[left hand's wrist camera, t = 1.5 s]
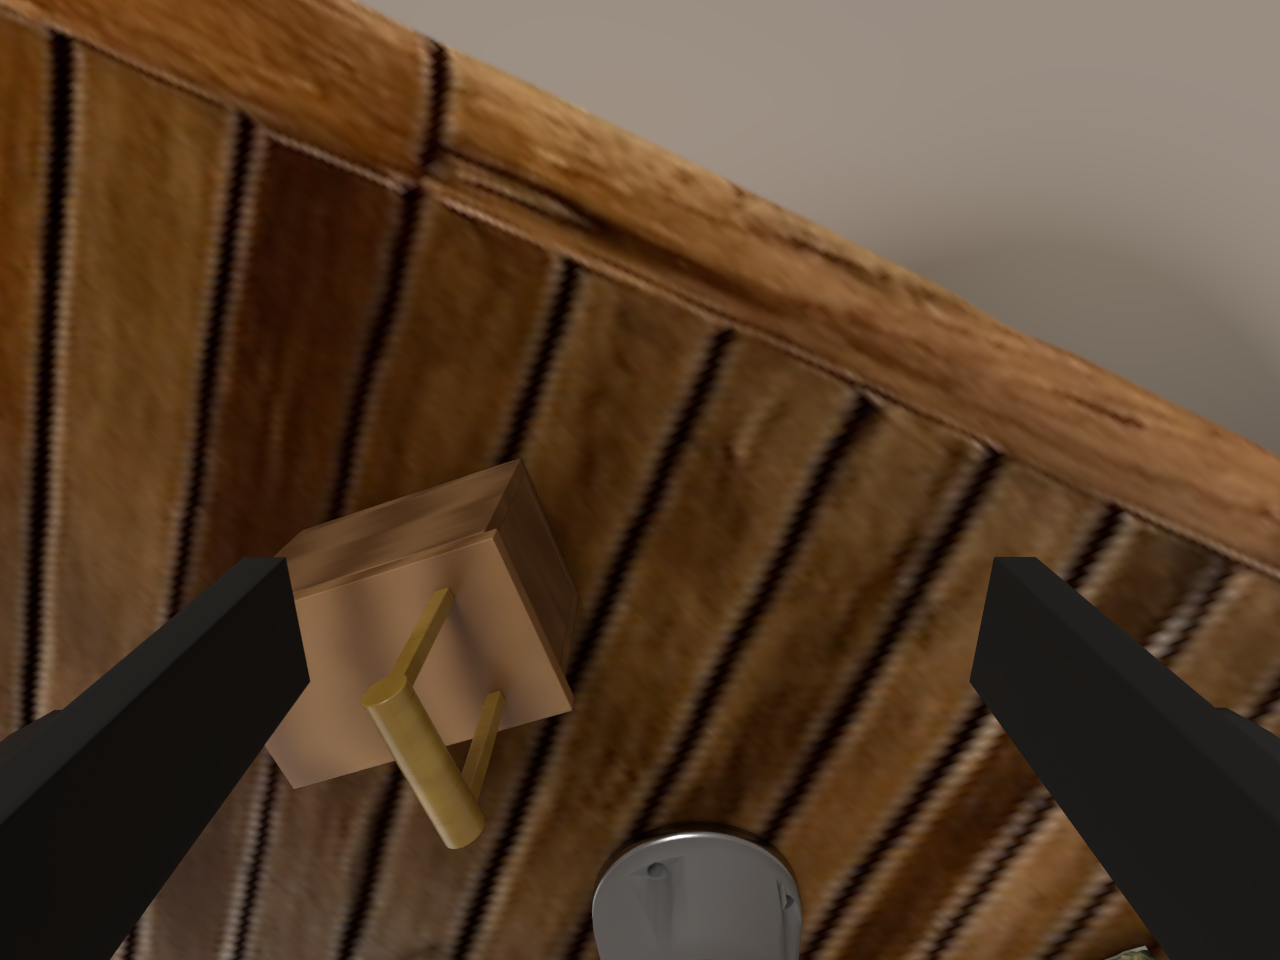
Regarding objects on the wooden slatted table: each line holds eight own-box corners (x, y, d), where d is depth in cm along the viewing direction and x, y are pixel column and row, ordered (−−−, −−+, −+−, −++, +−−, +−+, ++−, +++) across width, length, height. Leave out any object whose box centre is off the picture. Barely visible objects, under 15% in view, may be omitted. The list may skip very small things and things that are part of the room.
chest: (520, 457, 39) (484, 531, 30) (579, 594, 43) (562, 699, 33) (302, 529, 41) (203, 621, 32) (374, 656, 44) (303, 773, 35)
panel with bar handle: (497, 527, 30) (442, 645, 22) (574, 696, 33) (552, 855, 25) (202, 621, 32) (48, 764, 23) (303, 774, 35) (198, 946, 27)
